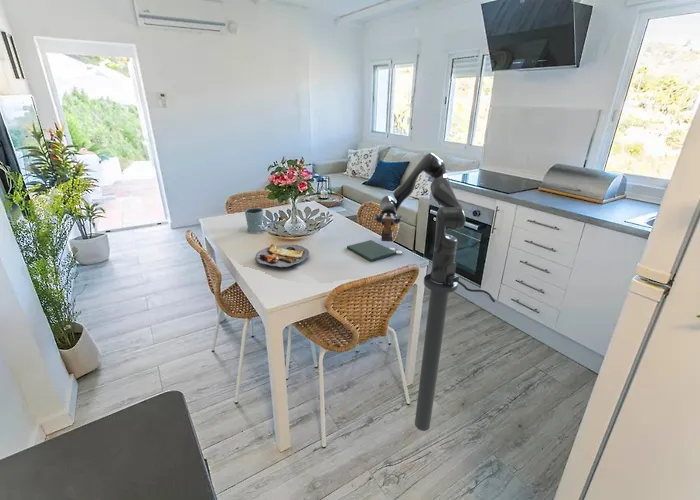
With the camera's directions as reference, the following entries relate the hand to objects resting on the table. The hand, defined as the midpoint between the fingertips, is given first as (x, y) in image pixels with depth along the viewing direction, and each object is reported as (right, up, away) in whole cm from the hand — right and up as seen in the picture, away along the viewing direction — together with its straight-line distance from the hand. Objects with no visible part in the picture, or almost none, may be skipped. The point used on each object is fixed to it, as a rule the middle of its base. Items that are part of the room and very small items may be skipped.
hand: (387, 223), depth 160 cm
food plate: (-49, -16, +5) cm, 52 cm away
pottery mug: (-57, +1, +47) cm, 74 cm away
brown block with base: (0, -6, +6) cm, 8 cm away
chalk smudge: (+4, -12, +18) cm, 22 cm away
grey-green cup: (-72, -1, +42) cm, 84 cm away
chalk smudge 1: (+7, -14, +14) cm, 21 cm away
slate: (-7, -13, +16) cm, 21 cm away
